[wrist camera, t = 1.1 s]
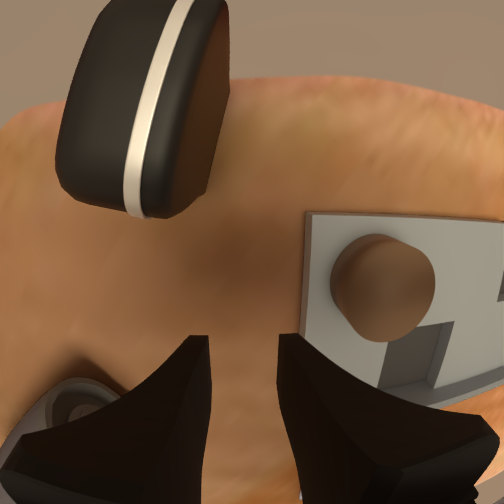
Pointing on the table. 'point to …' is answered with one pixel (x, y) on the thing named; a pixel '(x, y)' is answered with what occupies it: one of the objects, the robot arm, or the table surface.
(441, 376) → the trap board
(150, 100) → the battery charger
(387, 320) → the puck
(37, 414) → the bluetooth speaker
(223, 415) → the table surface
